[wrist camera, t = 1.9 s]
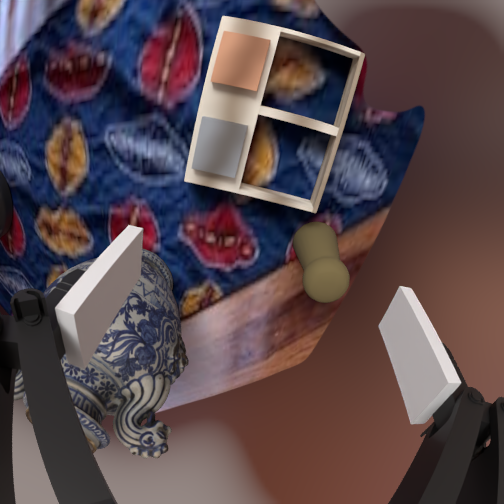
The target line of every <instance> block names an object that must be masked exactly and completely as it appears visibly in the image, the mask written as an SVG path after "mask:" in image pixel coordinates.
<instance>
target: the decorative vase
mask: <svg viewBox="0 0 504 504" xmlns="http://www.w3.org/2000/svg"><path fill="white" fill-rule="evenodd" d="M96 260H97V258H95V259H92V260H89V261H86V262H83V263H81V264H79V265H76V266H74V267H72V268H71V269H69V270H67V271H66V272H65V273H63V274H62V275H60V276H59V277H58V278H57V279H56V280H55V281H54V282H53V283H52V284H51V285H50V286H49V287H48V288H47V289H46V290H45V291H44V293H43V294H44V296H45V298H46V297H47V296H48V295H49V293H50V292H51V291H52V290H53V289H54V288H56V286H57V284H58V283H59V282H61V280H62V279H63V278H64V277H65V276H66V275H67V274H68V273H70V272H72V271H74V270H75V269H81V270H84V271H87V270H88V268H89V267H90V266H91V265H92V264H93V263H94V262H95V261H96ZM172 288H173V279H172V275H171V272H170V270H169V269H168V267H167V265H166V264H165V263H164V261H163V260H162V259H160V258H159V257H158V256H157V255H156V254H154V253H153V252H150V251H148V250H145V249H142V258H141V277H140V278H139V280H138V281H137V283H136V284H135V286H134V288H133V289H132V291H131V292H130V294H129V295H128V297H127V299H126V300H125V302H124V303H123V305H122V307H121V308H120V310H119V312H118V313H117V315H116V317H115V318H114V320H113V322H112V323H111V325H110V327H109V328H108V330H107V332H106V333H105V335H104V337H103V338H102V340H101V342H100V344H99V345H98V347H97V349H96V351H95V352H94V354H93V356H92V358H91V359H90V361H89V363H88V365H87V367H86V368H85V369H82V368H80V367H77V366H74V365H72V364H69V363H68V361H67V358H66V354H64V356H63V358H62V359H61V364H62V367H63V371H64V374H65V378H66V381H67V384H68V388H69V391H70V394H71V397H72V400H73V403H74V406H75V409H76V412H77V415H78V417H79V420H80V423H81V425H82V428H83V431H84V433H85V436H86V438H87V441H88V443H89V445H90V448H91V450H92V453H94V452H95V451H96V450H97V449H102V448H105V447H106V446H108V444H109V443H110V436H109V435H108V433H107V432H106V430H105V429H104V428H103V427H102V426H101V421H102V420H104V419H105V417H106V415H115V416H114V420H113V428H114V432H115V434H116V436H117V438H118V440H119V441H120V442H121V443H122V444H123V445H125V446H126V447H127V448H129V450H130V451H131V453H132V454H134V455H140V456H141V457H143V458H148V457H149V456H152V457H154V458H159V457H160V456H161V454H163V453H165V452H167V451H168V445H167V439H168V435H169V434H170V433H171V428H170V427H169V426H166V425H164V424H163V423H162V422H161V421H158V420H157V421H155V414H154V413H155V412H156V411H158V410H159V409H160V408H161V407H162V405H163V404H164V402H165V401H166V399H167V397H168V394H169V391H170V385H171V384H173V383H174V382H175V379H176V378H178V377H179V376H180V374H181V373H182V372H183V371H184V368H185V366H187V365H188V358H187V356H186V354H185V353H186V349H185V345H184V342H183V340H182V337H181V322H180V315H179V311H178V307H177V303H176V300H175V298H174V295H173V293H172ZM22 398H23V401H24V404H25V406H26V408H27V410H26V416H27V418H28V420H29V421H30V422H31V423H32V420H31V416H30V412H29V408H28V403H27V398H26V393H25V388H24V383H23V377H22V371H21V370H19V369H17V370H16V379H15V389H14V400H18V399H22ZM146 418H147V423H146V424H145V425H143V426H140V425H141V423H142V421H143V420H144V419H146Z"/></svg>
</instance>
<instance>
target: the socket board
mask: <svg viewBox="0 0 504 504" xmlns="http://www.w3.org/2000/svg"><path fill="white" fill-rule="evenodd" d="M279 36H280V37H284V38H288V39H292V40H296V41H299V42H303V43H306V44H310V45H313V46H316V47H320V48H323V49H326V50H329V51H332V52H335V53H338V54H341V55H344V56H346V57H349V58H352V59H353V61H352V64H351V68H350V71H349V75H348V78H347V82H346V85H345V89H344V92H343V96H342V99H341V103H340V106H339V110H338V113H337V116H336V120H335V123H334V126H333V125H330V124H327V123H323V122H320V121H317V120H314V119H310V118H307V117H304V116H300V115H297V114H293V113H289V112H286V111H282V110H278V109H274V108H271V107H267V106H262V105H261V102H262V98H263V95H264V91H265V87H266V83H267V80H268V76H269V72H270V69H271V65H272V61H273V58H274V54H275V51H276V47H277V43H278V40H279ZM364 56H365V54H364V53H361V52H359V51H356V50H353V49H350V48H348V47H345V46H342V45H339V44H336V43H333V42H330V41H327V40H324V39H321V38H318V37H314V36H311V35H308V34H304V33H301V32H297V31H293V30H290V29H286V28H282V27H278V26H273V25H269V24H265V23H260V22H255V21H250V20H245V19H239V18H234V17H228V16H222V20H221V23H220V27H219V30H218V34H217V37H216V41H215V45H214V48H213V52H212V56H211V60H210V64H209V68H208V72H207V76H206V80H205V84H204V88H203V92H202V96H201V101H200V105H199V110H198V114H197V119H196V123H195V128H194V133H193V138H192V143H191V148H190V153H189V158H188V163H187V168H186V174H185V179H184V181H185V182H190V183H195V184H199V185H204V186H208V187H212V188H217V189H221V190H225V191H230V192H234V193H238V194H242V195H247V196H251V197H255V198H259V199H263V200H267V201H271V202H275V203H279V204H283V205H286V206H290V207H294V208H298V209H302V210H305V211H309V212H313V213H316V212H317V209H318V206H319V203H320V200H321V197H322V194H323V191H324V188H325V185H326V182H327V179H328V176H329V173H330V170H331V167H332V164H333V161H334V158H335V155H336V151H337V148H338V145H339V142H340V139H341V135H342V132H343V129H344V126H345V122H346V119H347V116H348V112H349V109H350V106H351V102H352V99H353V95H354V92H355V89H356V85H357V82H358V78H359V74H360V71H361V67H362V64H363V60H364ZM258 114H259V115H263V116H267V117H271V118H275V119H279V120H282V121H286V122H290V123H293V124H297V125H300V126H304V127H307V128H311V129H314V130H317V131H321V132H324V133H327V134H330V135H331V136H330V139H329V143H328V146H327V149H326V152H325V156H324V159H323V162H322V165H321V168H320V171H319V175H318V178H317V181H316V184H315V187H314V190H313V193H312V196H311V199H310V200H307V199H303V198H300V197H296V196H292V195H288V194H285V193H281V192H277V191H273V190H269V189H265V188H261V187H257V186H253V185H249V184H245V183H241V180H242V176H243V172H244V168H245V164H246V160H247V156H248V152H249V148H250V145H251V141H252V137H253V133H254V129H255V125H256V121H257V117H258Z"/></svg>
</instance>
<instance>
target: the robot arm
mask: <svg viewBox="0 0 504 504" xmlns="http://www.w3.org/2000/svg"><path fill="white" fill-rule="evenodd" d="M12 216H13V206H12V198H11V194H10V190H9V187H8V184H7V182H6V180H5V178H4V176H3V174H2V173H1V171H0V238H1V237H2V236H3V235H5V234H6V233H7V231H8V230H9V228H10V225H11V222H12ZM142 240H143V228H139V227H135V226H131V225H129V226H128V227H127V228H126V229H125V230H124V231H123V232H122V233H121V234H120V235H119V236H118V237H117V238H116V239H115V240H114V241H113V242H112V243H111V244H110V245H109V246H108V248H107V249H106V250H105V251H104V252H103V253H102V254H101V255H100V256H99V257H98V258H97V260H96V261H95V262H94V263H93V264H92V265H91V266H90V267H89V268H88V270H87V271H84V270H81V269H75V270H74V271H72V272H70V273H68V274H67V275H66V276H65V277H64V278H63V279H62V280H61V282H59V283H58V284H57V286H56V288H54V289H53V290H52V291H51V292H50V293H49V295H48V296H47V297H46V298H45V296H44V294H43V293H42V292H41V291H39V290H37V289H33V288H31V289H24V290H20V291H19V292H17V293H16V294H14V296H13V297H12V298H11V302H10V305H11V308H12V312H13V315H14V316H7V315H1V313H0V504H16V503H15V493H14V484H13V483H14V482H13V464H12V421H13V401H14V389H15V379H16V370H17V369H19V370H21V371H22V377H23V383H24V388H25V393H26V398H27V403H28V408H29V412H30V416H31V420H32V424H33V428H34V432H35V435H36V439H37V443H38V446H39V449H40V453H41V455H42V459H43V461H44V465H45V468H46V471H47V473H48V476H49V479H50V482H51V484H52V487H53V489H54V492H55V495H56V497H57V499H58V502H59V504H117V502H116V500H115V498H114V496H113V494H112V493H111V491H110V489H109V487H108V485H107V483H106V481H105V479H104V477H103V474H102V472H101V470H100V468H99V466H98V464H97V462H96V459H95V457H94V455H93V453H92V450H91V448H90V445H89V443H88V441H87V438H86V436H85V433H84V431H83V428H82V425H81V423H80V420H79V417H78V415H77V412H76V409H75V406H74V403H73V400H72V397H71V394H70V391H69V388H68V384H67V381H66V378H65V374H64V371H63V367H62V364H61V359H62V358H63V356H64V354H66V358H67V361H68V363H69V364H72V365H74V366H77V367H80V368H82V369H85V368H86V367H87V365H88V363H89V361H90V359H91V358H92V356H93V354H94V352H95V351H96V349H97V347H98V345H99V344H100V342H101V340H102V338H103V337H104V335H105V333H106V332H107V330H108V328H109V327H110V325H111V323H112V322H113V320H114V318H115V317H116V315H117V313H118V312H119V310H120V308H121V307H122V305H123V303H124V302H125V300H126V299H127V297H128V295H129V294H130V292H131V291H132V289H133V288H134V286H135V284H136V283H137V281H138V280H139V278H140V277H141V258H142ZM379 329H380V331H381V334H382V337H383V340H384V342H385V345H386V348H387V351H388V354H389V356H390V359H391V362H392V365H393V368H394V371H395V374H396V377H397V380H398V383H399V387H400V390H401V392H402V396H403V399H404V402H405V406H406V409H407V412H408V415H409V419H410V423H411V424H424V423H425V422H426V421H427V420H428V419H429V418H430V417H431V416H432V415H433V418H434V422H433V423H432V424H431V425H430V426H429V427H428V428H427V429H426V430H425V431H424V432H423V433H422V434H421V437H422V436H423V435H425V434H426V436H425V438H424V440H423V442H422V444H421V446H420V448H419V450H418V452H417V454H416V456H415V458H414V460H413V462H412V464H411V466H410V468H409V469H408V471H407V473H406V475H405V476H404V478H403V480H402V482H401V484H400V485H399V487H398V489H397V490H396V492H395V494H394V495H393V497H392V498H391V500H390V502H389V503H388V504H504V398H503V397H499V398H498V399H497V400H496V401H495V402H494V403H493V404H491V403H488V402H485V401H484V398H483V396H482V394H481V393H480V392H479V391H478V390H476V389H475V388H473V387H468V386H467V384H466V382H465V380H464V378H463V376H462V373H461V372H460V369H459V367H457V363H456V361H455V360H454V357H453V356H452V354H451V352H450V350H449V349H448V348H447V347H446V346H445V344H444V343H442V342H441V341H440V339H439V337H438V335H437V333H436V331H435V329H434V327H433V326H432V324H431V322H430V320H429V318H428V317H427V315H426V313H425V311H424V310H423V308H422V306H421V304H420V303H419V301H418V299H417V297H416V296H415V294H414V292H413V290H412V289H411V288H407V287H402V286H400V287H399V289H398V291H397V292H396V294H395V296H394V298H393V300H392V302H391V304H390V306H389V308H388V310H387V312H386V313H385V315H384V317H383V319H382V321H381V322H380V324H379ZM489 439H491V441H490V444H489V446H488V447H486V442H487V441H488V440H489Z"/></svg>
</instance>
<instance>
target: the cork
mask: <svg viewBox="0 0 504 504" xmlns="http://www.w3.org/2000/svg"><path fill="white" fill-rule="evenodd" d="M293 248H294V250H295V252H296V255H297V257H298V259H299V261H300V263H301V265H302V268H303V270H304V274H303V287H304V289H305V291H306V293H307V294H308V295H309V296H310V297H311V298H312V299H314V300H316V301H318V302H323V303H328V302H333V301H335V300H337V299H339V298H340V297H342V295H343V294H344V293H345V292H346V290H347V288H348V286H349V273H348V270H347V268H346V267H345V265H344V264H343V263H342V262H341V261H340V257H339V250H338V243H337V237H336V234H335V232H334V230H333V229H332V228H331V227H330V226H328V225H327V224H325V223H321V222H311V223H308V224H305V225H303V226H302V227H301V228H299V230H298V231H297V232H296V234H295V236H294V239H293Z"/></svg>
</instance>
